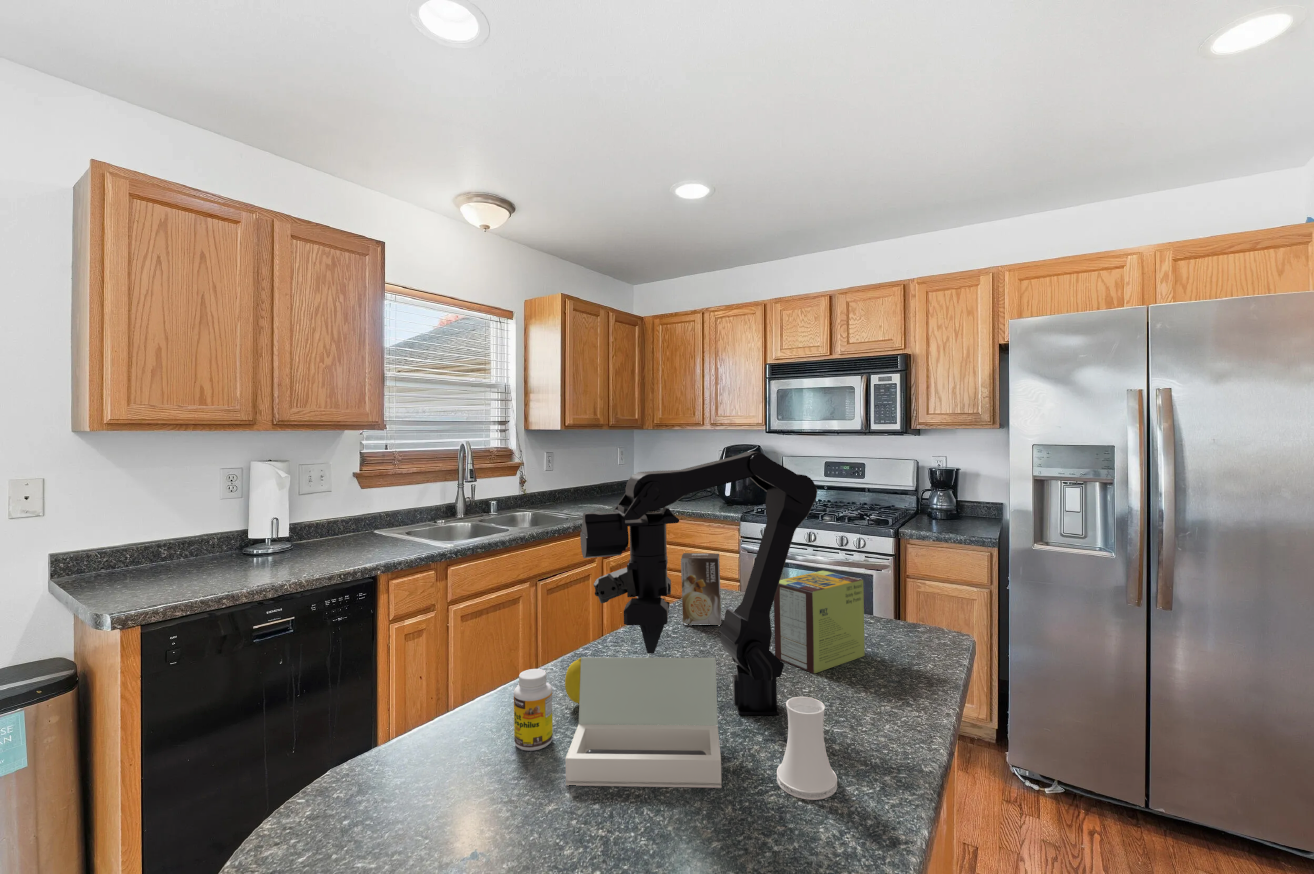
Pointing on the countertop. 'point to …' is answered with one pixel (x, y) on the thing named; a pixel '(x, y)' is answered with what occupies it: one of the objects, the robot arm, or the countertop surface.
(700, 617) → the coffee box
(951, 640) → the countertop surface
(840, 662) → the protein box
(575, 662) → the lemon
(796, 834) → the countertop surface
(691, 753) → the cable duct
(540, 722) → the supplement bottle
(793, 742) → the vase
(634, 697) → the lid
